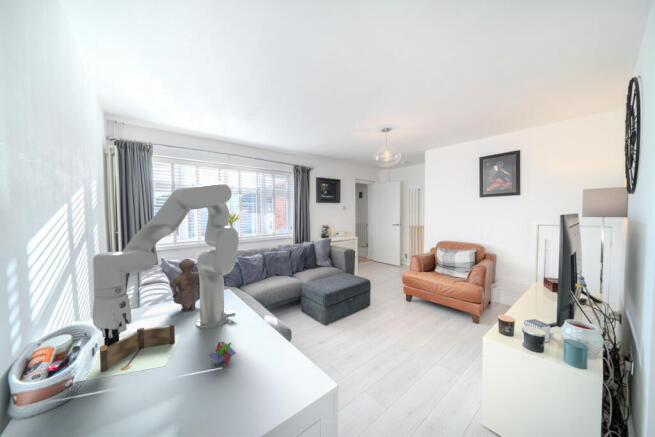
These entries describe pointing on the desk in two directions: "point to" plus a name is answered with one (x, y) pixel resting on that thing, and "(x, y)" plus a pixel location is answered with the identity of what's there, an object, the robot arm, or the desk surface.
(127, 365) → the card
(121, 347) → the panel
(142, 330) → the fence fixed section
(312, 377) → the desk surface
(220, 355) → the geometric puzzle
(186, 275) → the clay figurine
